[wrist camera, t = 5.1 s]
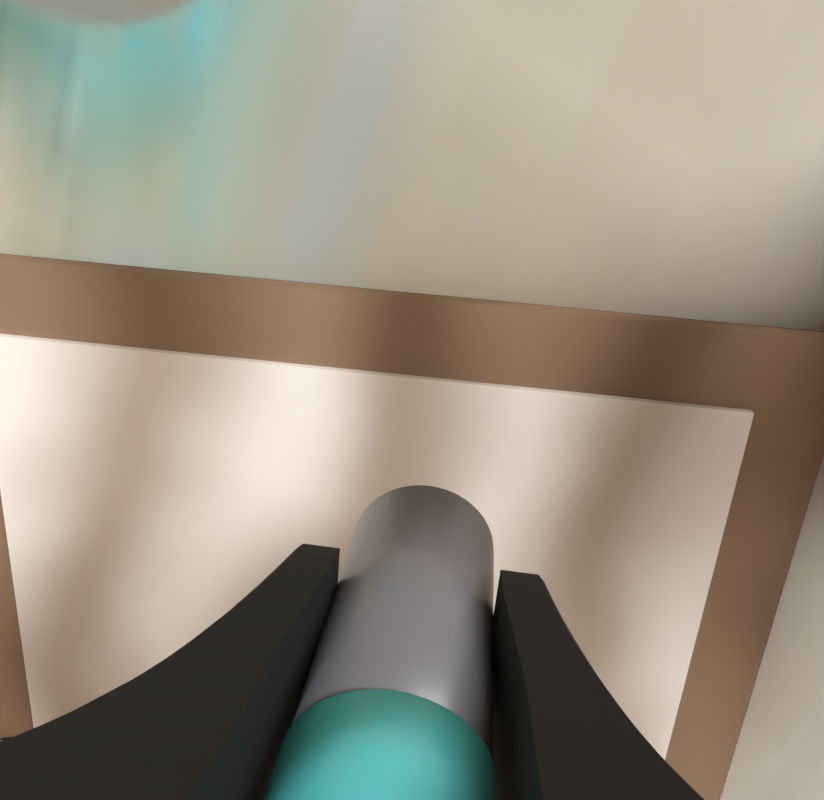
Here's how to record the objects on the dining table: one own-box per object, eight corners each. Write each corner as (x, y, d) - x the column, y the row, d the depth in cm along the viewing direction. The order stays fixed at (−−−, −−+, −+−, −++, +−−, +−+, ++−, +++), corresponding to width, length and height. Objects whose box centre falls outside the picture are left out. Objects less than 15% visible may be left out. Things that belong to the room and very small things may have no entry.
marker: (505, 493, 14) (514, 847, 7) (486, 617, 15) (480, 1027, 8) (355, 473, 14) (234, 804, 7) (346, 598, 15) (232, 985, 8)
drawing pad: (846, 333, 19) (860, 343, 18) (693, 854, 26) (699, 876, 25) (-87, 245, 21) (-108, 251, 20) (-2, 758, 27) (-15, 777, 26)
